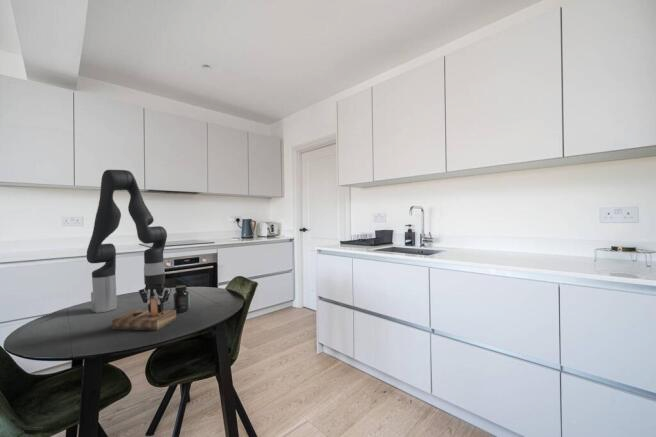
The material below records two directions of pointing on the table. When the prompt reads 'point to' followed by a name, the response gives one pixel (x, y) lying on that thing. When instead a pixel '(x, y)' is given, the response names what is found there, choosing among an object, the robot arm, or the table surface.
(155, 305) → the orange tall block
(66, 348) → the table surface
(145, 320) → the wooden block with holes
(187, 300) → the supplement bottle
